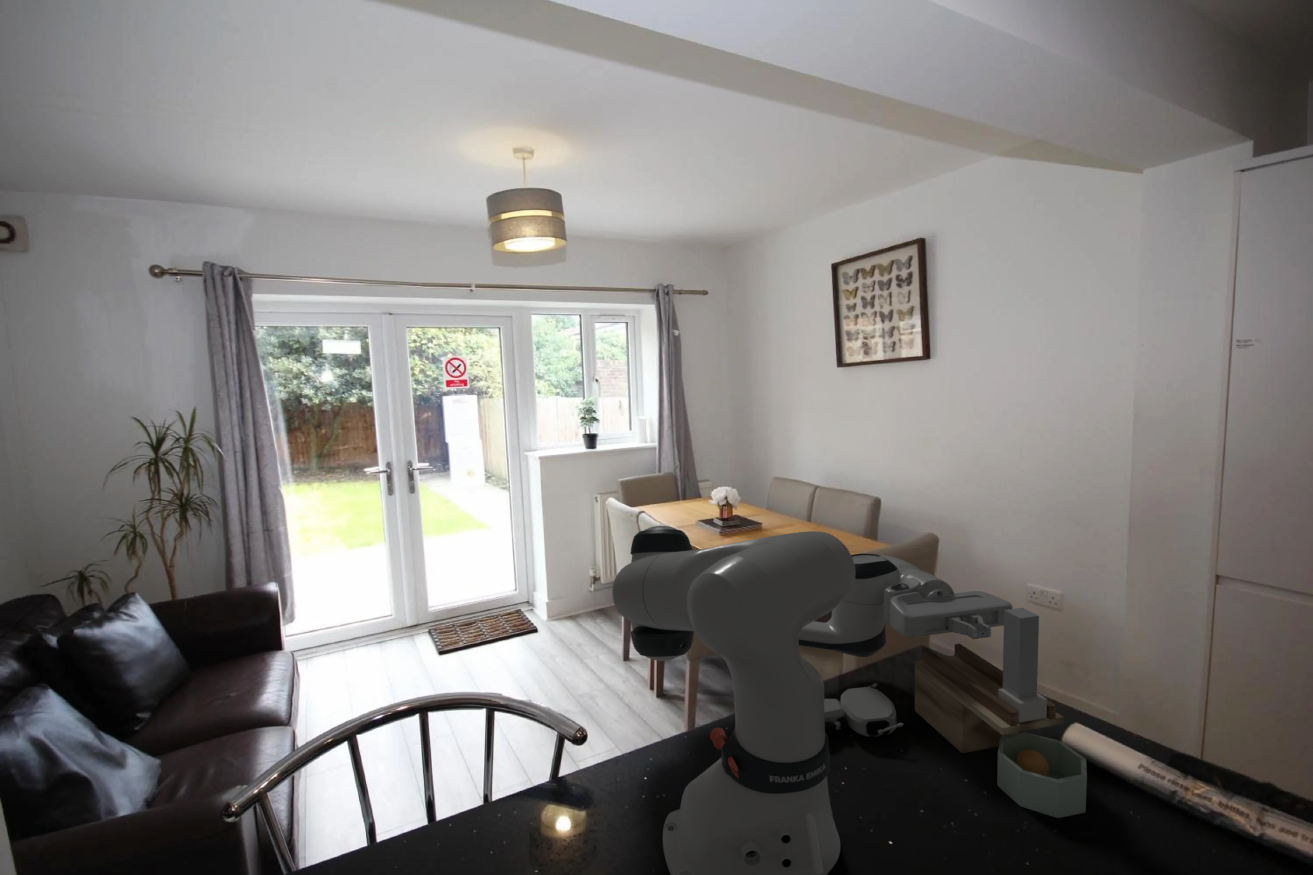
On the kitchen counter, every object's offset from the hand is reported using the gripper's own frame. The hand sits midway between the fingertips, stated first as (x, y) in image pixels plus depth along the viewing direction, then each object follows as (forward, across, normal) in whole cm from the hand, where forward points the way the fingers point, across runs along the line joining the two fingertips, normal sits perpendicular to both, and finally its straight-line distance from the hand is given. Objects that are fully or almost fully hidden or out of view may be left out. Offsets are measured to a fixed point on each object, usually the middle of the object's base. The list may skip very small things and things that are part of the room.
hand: (983, 633), depth 95 cm
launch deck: (+1, 0, -17) cm, 17 cm away
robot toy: (-8, +18, -18) cm, 27 cm away
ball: (+11, +1, -14) cm, 18 cm away
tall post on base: (+9, +1, -8) cm, 12 cm away
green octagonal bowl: (+13, 0, -17) cm, 21 cm away
